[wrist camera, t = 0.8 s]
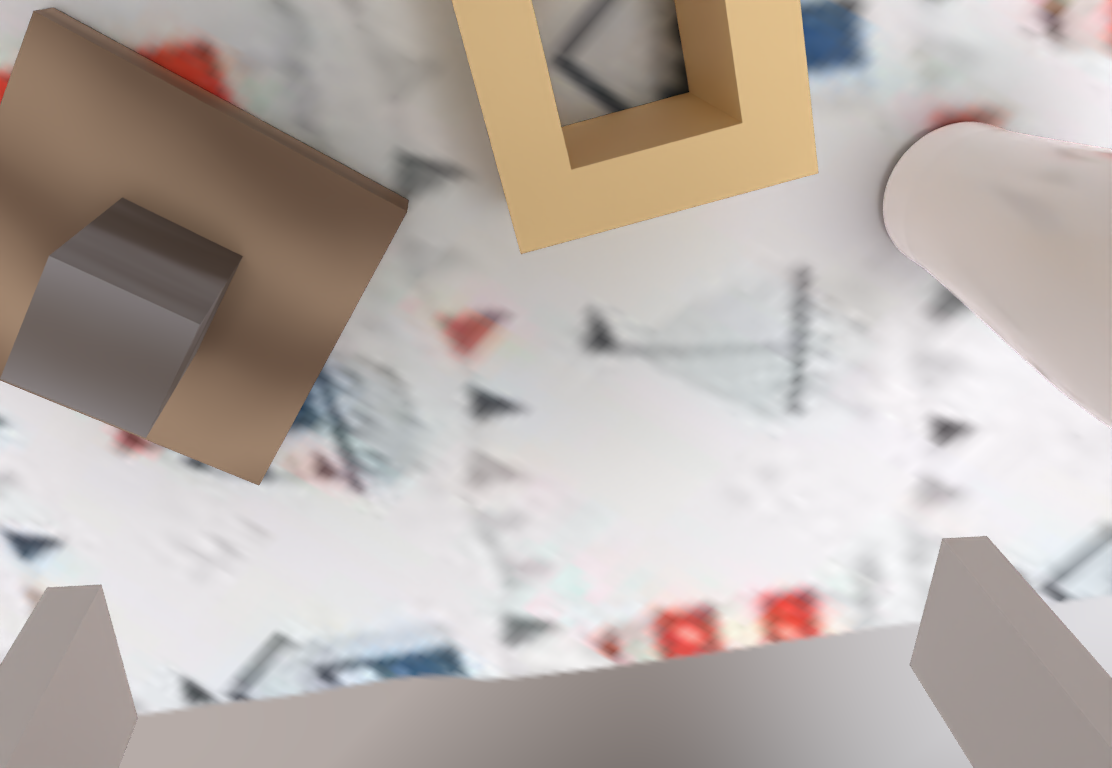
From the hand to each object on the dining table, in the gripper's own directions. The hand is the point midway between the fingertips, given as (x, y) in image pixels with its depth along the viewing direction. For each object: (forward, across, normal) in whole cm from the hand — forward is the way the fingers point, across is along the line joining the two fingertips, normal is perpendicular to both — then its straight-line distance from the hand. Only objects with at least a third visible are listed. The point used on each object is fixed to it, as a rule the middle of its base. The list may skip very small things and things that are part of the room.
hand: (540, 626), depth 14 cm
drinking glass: (+20, +17, +1) cm, 27 cm away
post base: (+20, -11, -1) cm, 23 cm away
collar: (+20, +4, +7) cm, 22 cm away
